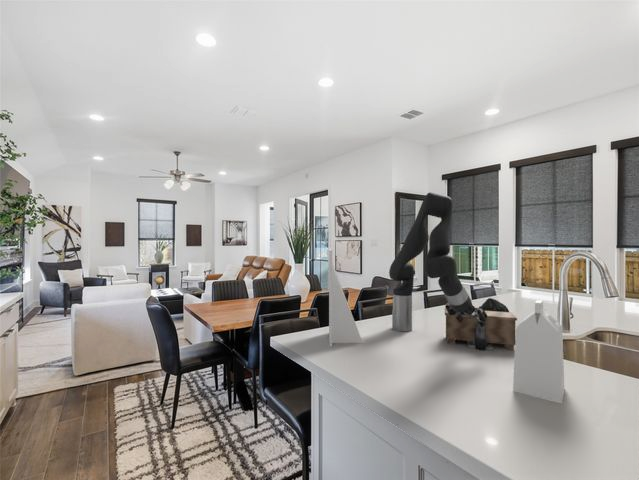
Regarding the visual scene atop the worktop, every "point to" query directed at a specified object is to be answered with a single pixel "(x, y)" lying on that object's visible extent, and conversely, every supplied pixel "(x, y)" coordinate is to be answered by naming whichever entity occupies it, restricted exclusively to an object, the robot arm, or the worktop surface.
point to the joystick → (480, 339)
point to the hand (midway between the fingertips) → (471, 322)
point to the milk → (539, 356)
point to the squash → (494, 306)
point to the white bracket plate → (340, 312)
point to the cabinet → (497, 328)
